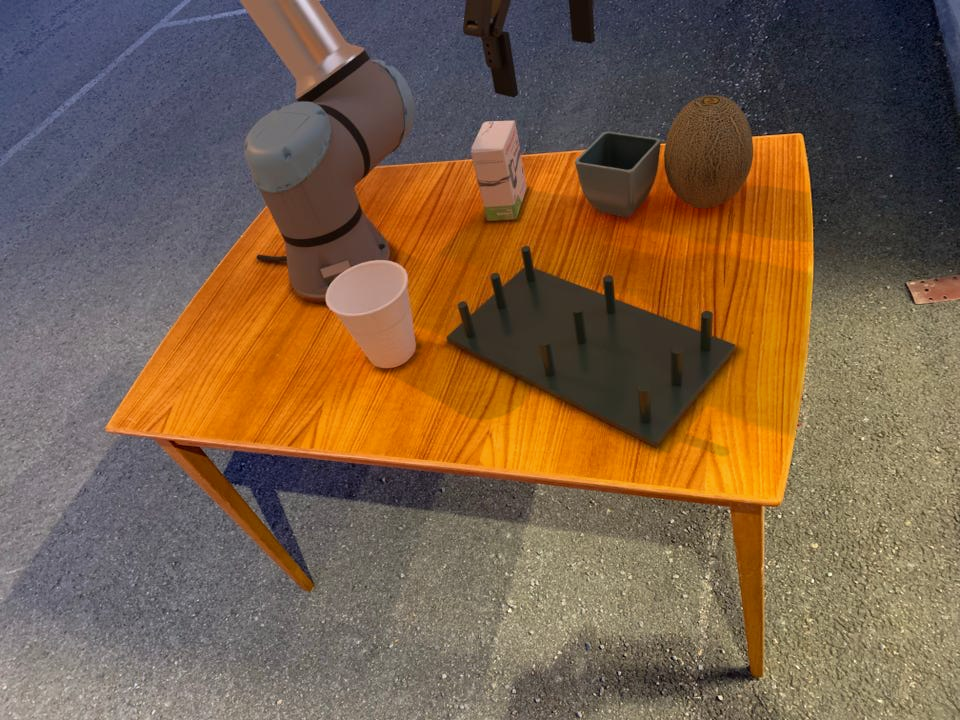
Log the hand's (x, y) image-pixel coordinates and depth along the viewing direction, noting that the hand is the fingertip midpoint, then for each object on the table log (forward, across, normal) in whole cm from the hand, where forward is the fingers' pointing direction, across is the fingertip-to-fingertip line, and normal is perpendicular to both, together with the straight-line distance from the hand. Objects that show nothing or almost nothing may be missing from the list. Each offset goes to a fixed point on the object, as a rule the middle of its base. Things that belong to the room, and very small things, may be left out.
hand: (546, 66), depth 77 cm
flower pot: (+26, +12, 0) cm, 28 cm away
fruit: (+26, +18, -10) cm, 33 cm away
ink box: (+26, +4, +15) cm, 31 cm away
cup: (+26, -27, +7) cm, 38 cm away
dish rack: (+26, -14, -13) cm, 32 cm away
